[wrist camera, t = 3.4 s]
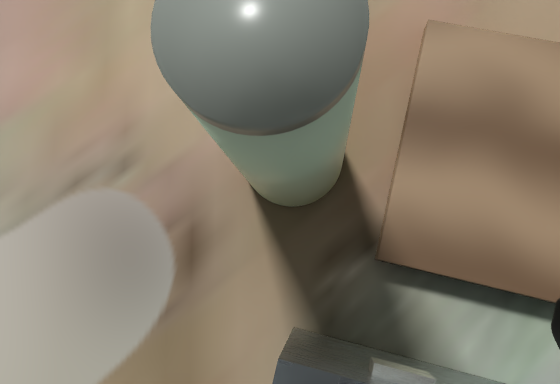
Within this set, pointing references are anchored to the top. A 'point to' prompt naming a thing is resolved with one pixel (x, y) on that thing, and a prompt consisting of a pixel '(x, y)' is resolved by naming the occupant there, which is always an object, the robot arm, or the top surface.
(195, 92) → the sage canister
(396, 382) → the slate unit
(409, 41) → the top surface
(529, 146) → the walnut plate
